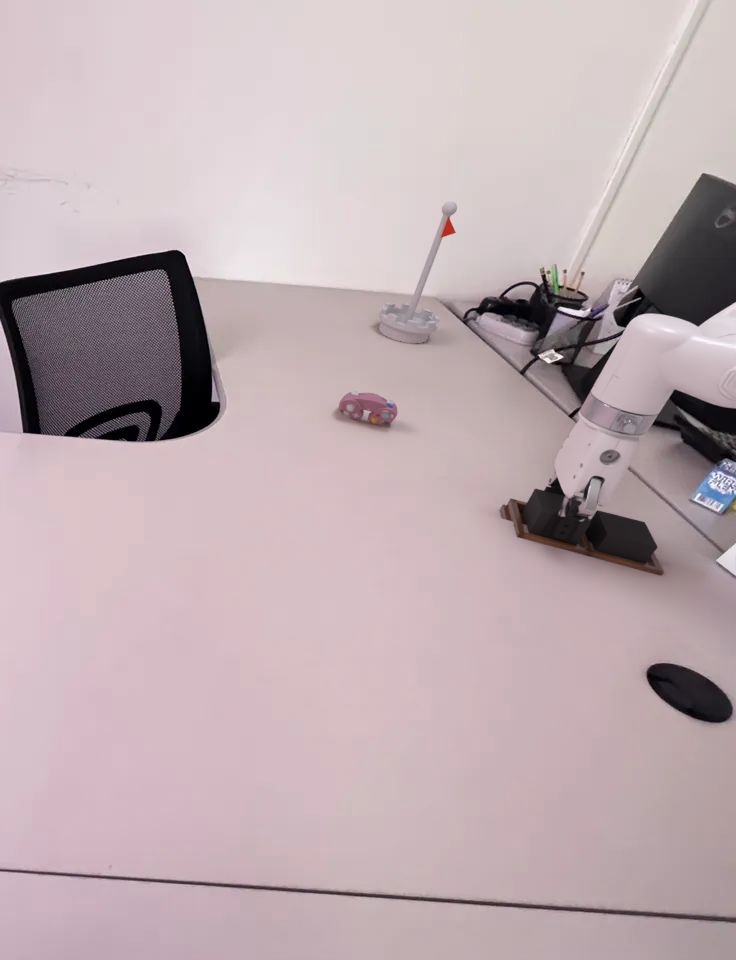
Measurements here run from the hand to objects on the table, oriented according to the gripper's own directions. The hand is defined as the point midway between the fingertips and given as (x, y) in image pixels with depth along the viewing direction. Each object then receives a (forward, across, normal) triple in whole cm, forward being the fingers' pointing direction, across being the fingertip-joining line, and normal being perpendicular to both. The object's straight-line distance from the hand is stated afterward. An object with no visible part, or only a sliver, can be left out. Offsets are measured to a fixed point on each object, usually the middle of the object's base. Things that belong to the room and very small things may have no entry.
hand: (550, 524), depth 95 cm
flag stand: (+3, +75, +19) cm, 77 cm away
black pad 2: (+2, 0, -8) cm, 9 cm away
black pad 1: (+1, 0, 0) cm, 1 cm away
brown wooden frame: (+3, 0, -4) cm, 5 cm away
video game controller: (+3, +24, +26) cm, 35 cm away
